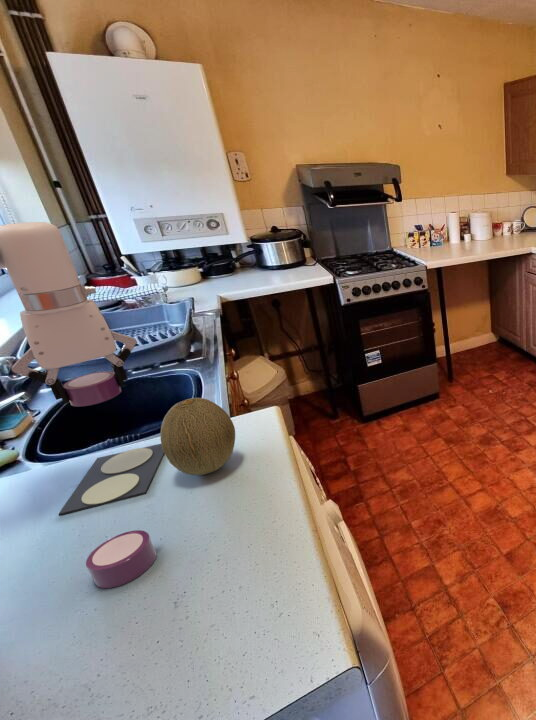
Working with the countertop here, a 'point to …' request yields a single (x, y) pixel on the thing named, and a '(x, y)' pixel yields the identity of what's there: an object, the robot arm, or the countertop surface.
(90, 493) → the mat
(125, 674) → the countertop surface
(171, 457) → the fruit
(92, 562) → the dish
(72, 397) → the dish
